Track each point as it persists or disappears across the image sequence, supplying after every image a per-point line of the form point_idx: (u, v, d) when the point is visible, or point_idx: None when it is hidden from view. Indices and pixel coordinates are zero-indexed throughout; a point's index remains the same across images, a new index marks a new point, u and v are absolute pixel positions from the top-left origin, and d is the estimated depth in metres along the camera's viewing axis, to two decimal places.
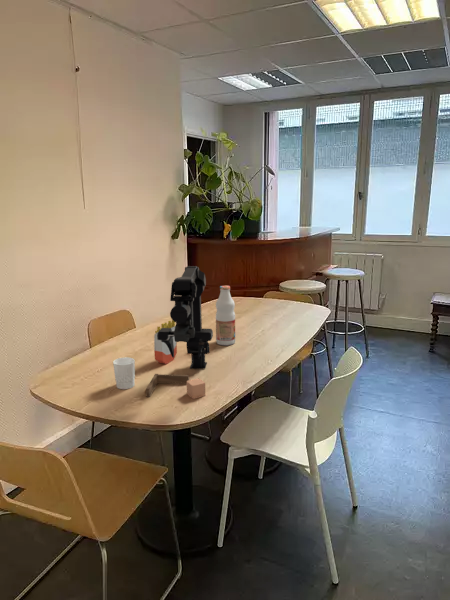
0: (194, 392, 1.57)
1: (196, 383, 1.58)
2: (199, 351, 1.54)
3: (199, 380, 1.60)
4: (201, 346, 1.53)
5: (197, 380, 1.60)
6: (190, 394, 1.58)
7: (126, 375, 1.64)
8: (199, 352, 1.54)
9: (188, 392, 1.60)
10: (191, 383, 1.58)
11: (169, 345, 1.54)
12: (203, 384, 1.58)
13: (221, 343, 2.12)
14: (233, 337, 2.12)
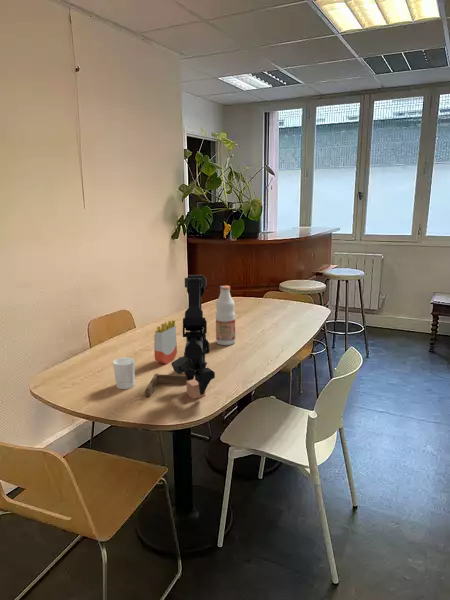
0: (194, 392, 1.57)
1: (196, 383, 1.58)
2: (199, 388, 1.54)
3: None
4: (199, 384, 1.53)
5: None
6: (190, 394, 1.58)
7: (126, 375, 1.64)
8: (199, 389, 1.55)
9: (188, 392, 1.60)
10: (191, 383, 1.58)
11: (185, 373, 1.62)
12: None
13: (221, 343, 2.12)
14: (233, 337, 2.12)
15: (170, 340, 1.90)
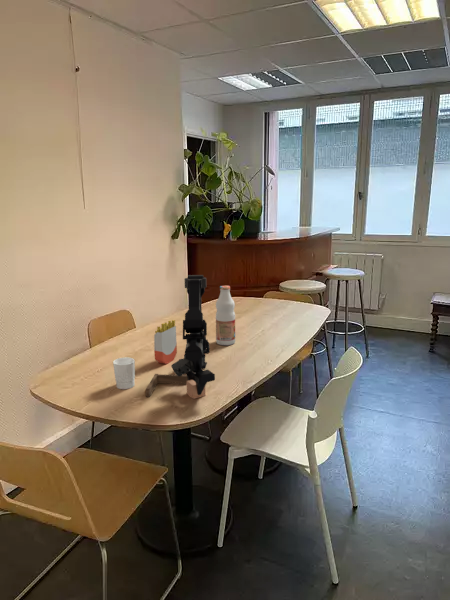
0: (194, 392, 1.57)
1: None
2: (197, 388, 1.56)
3: None
4: (197, 384, 1.55)
5: None
6: (190, 394, 1.58)
7: (126, 375, 1.64)
8: (197, 389, 1.56)
9: (188, 392, 1.60)
10: (191, 383, 1.58)
11: (187, 376, 1.61)
12: None
13: (221, 343, 2.12)
14: (233, 337, 2.12)
15: (170, 340, 1.90)
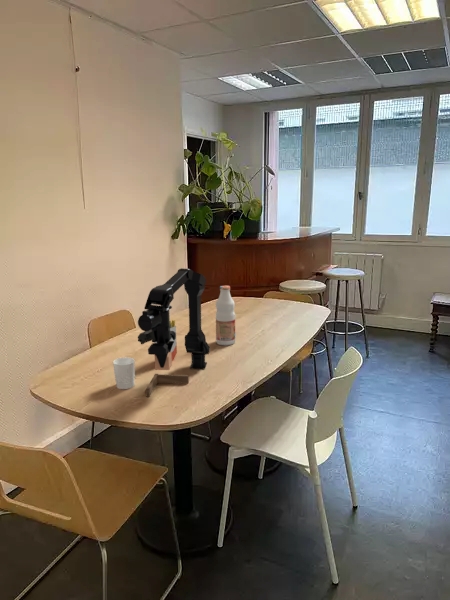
0: (156, 364, 1.58)
1: None
2: None
3: (168, 353, 1.60)
4: None
5: None
6: None
7: (126, 375, 1.64)
8: None
9: None
10: None
11: None
12: None
13: (221, 343, 2.12)
14: (233, 337, 2.12)
15: (170, 340, 1.90)
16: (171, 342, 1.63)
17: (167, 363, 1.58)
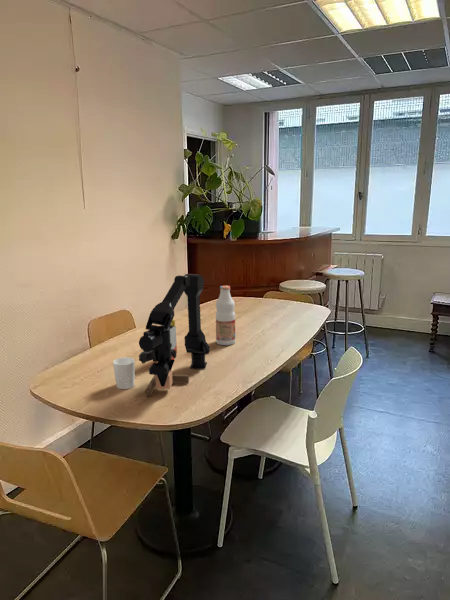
0: (157, 383, 1.60)
1: None
2: None
3: None
4: None
5: None
6: None
7: (126, 375, 1.64)
8: None
9: None
10: None
11: None
12: (167, 377, 1.59)
13: (221, 343, 2.12)
14: (233, 337, 2.12)
15: (170, 340, 1.90)
16: (172, 361, 1.65)
17: (168, 382, 1.59)
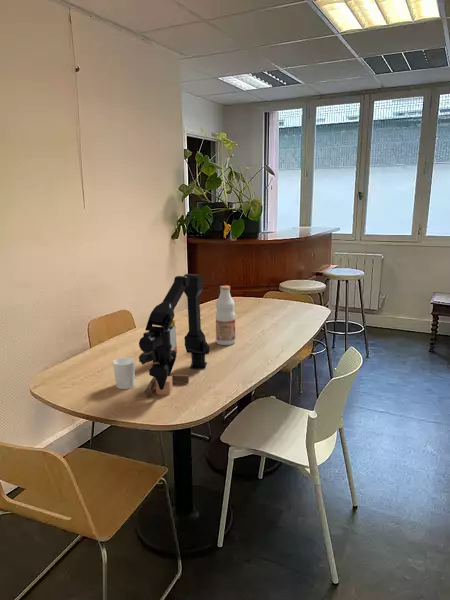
0: (157, 388, 1.60)
1: None
2: None
3: (169, 378, 1.62)
4: None
5: (167, 378, 1.63)
6: None
7: (126, 375, 1.64)
8: None
9: None
10: None
11: None
12: (167, 382, 1.60)
13: (221, 343, 2.12)
14: (233, 337, 2.12)
15: (170, 340, 1.90)
16: (173, 360, 1.67)
17: (168, 388, 1.60)
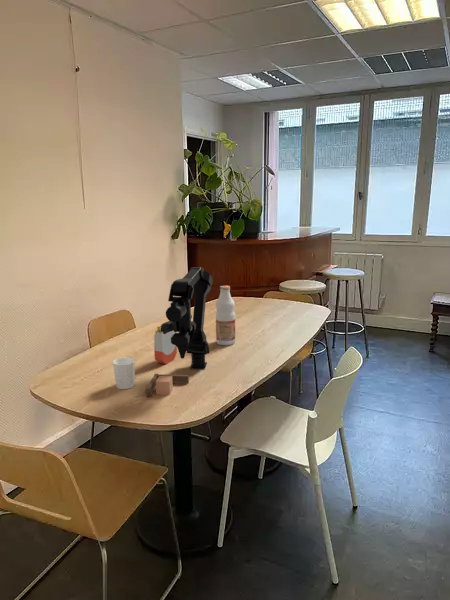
0: (157, 388, 1.60)
1: (162, 380, 1.61)
2: None
3: (169, 378, 1.62)
4: None
5: (167, 377, 1.63)
6: None
7: (126, 375, 1.64)
8: None
9: None
10: (158, 379, 1.62)
11: None
12: (167, 382, 1.60)
13: (221, 343, 2.12)
14: (233, 337, 2.12)
15: (170, 340, 1.90)
16: (192, 330, 1.72)
17: (168, 388, 1.60)
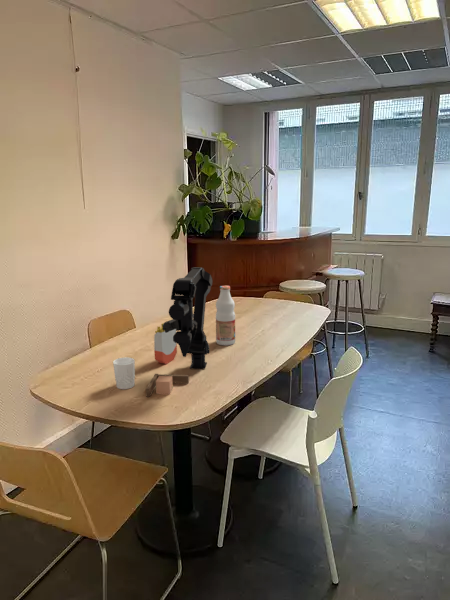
0: (157, 388, 1.60)
1: (162, 380, 1.61)
2: None
3: (169, 378, 1.62)
4: None
5: (167, 378, 1.63)
6: None
7: (126, 375, 1.64)
8: None
9: None
10: (158, 379, 1.62)
11: None
12: (167, 382, 1.60)
13: (221, 343, 2.12)
14: (233, 337, 2.12)
15: (170, 340, 1.90)
16: (194, 330, 1.73)
17: (168, 388, 1.60)
